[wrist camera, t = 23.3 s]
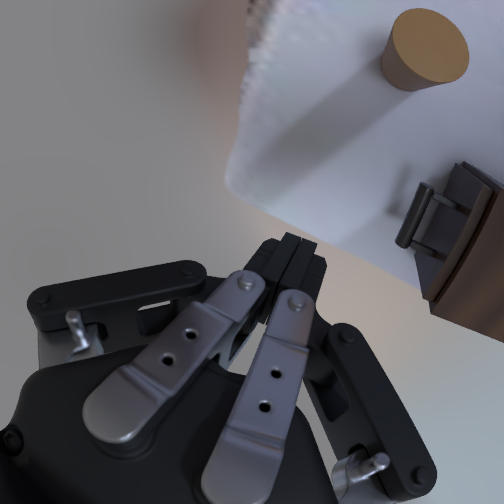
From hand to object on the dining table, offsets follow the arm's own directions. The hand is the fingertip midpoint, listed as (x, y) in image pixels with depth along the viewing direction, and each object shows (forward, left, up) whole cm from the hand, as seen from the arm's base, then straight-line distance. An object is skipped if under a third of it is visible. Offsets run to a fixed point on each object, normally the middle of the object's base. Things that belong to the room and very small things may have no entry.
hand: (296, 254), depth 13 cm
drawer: (0, +16, -18) cm, 24 cm away
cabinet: (0, +20, -18) cm, 27 cm away
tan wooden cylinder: (-13, +4, -18) cm, 23 cm away
